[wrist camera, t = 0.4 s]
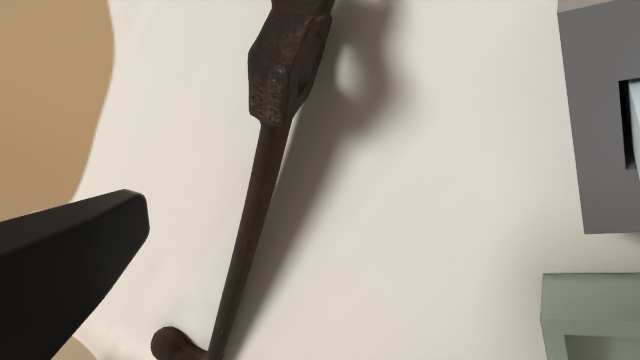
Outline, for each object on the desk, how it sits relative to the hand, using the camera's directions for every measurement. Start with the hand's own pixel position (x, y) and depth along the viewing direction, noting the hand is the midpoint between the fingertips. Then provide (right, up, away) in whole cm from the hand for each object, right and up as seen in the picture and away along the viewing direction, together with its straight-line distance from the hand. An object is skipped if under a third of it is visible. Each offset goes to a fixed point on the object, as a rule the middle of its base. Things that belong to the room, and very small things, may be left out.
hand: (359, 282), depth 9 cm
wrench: (-5, +1, +21) cm, 21 cm away
